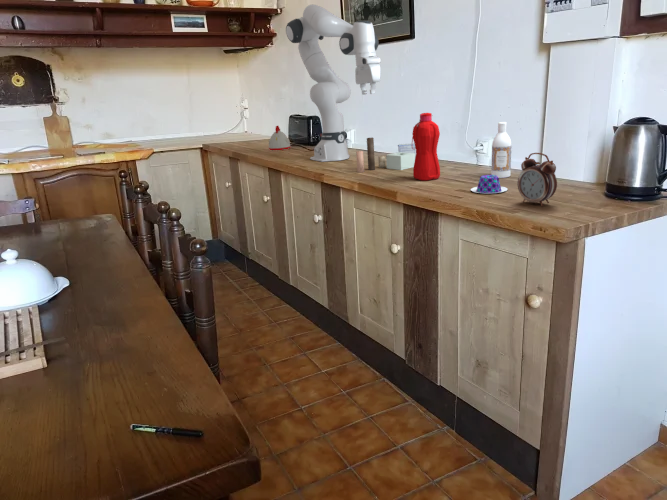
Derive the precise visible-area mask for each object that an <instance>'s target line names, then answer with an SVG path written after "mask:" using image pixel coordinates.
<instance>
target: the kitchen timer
mask: <svg viewBox="0 0 667 500" xmlns="http://www.w3.org/2000/svg"><path fill="white" fill-rule="evenodd" d="M274 129H275V130H274V132H273V134H272V135H271V136H270V139H268V150H269V149H270V150H282V151H284V150H283V149H288V148H292V147H291V143H290V139H289V137H288V136H287V135H286V133H284V132H283V131H281V128H280V126H279V125H276V126H275V128H274ZM288 150H289V149H288Z"/></svg>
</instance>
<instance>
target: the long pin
mask: <svg viewBox="0 0 667 500" xmlns="http://www.w3.org/2000/svg"><path fill="white" fill-rule="evenodd" d="M374 141H375V139H374V137H367V138H366V150H367V153H366V154H367V170H368V171H375V169H376V165H375V144H374V143H375V142H374Z"/></svg>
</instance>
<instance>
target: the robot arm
mask: <svg viewBox="0 0 667 500" xmlns="http://www.w3.org/2000/svg"><path fill="white" fill-rule="evenodd" d="M285 34H286V37H287V39H288V40H289V42H291V43H293V44H298V46H297V49H298V52H299V54H300V58H301V60H302V63H303V64H304V67H305V69H306V71H307V72H308V73H307V74H308V75H309V77H310V78H311V80H313V81H315V82H316V83H315V84H313V85H312V86H311V87H310V90H309V97H310V100H311V102H313V104H314V105H316V107H317V109H318V111H319V113H320V114H319V115H320V118H321V125H322V133H319V134H320V135H319V136H320V141H319V142H318V143H317V144H316V145H315V147H314V150H313V151H314V152H313V153H314V155H313V156H310V158H309V160H313V161H317V162H321V163H322V162H337V161H344V160H348V159H349V158H350V157H351V155H350V154H349V150H348V145H347V141H346V130H345V123H344V122H345V121H344V115H343V114H342V113H341V112H340V110H339V108H338V106H337V104H342V103H343V102H345V101H348V100H349V98H351V97H350V96H351V93H352V92H351V91H352V89H351V86H350V85H349V84H348V83H347V82H345V81H344V80H343V79H342V78H340V76H339V75H337V73H336V72H335V71H334V70H333V69H332V67H331V66H330V64H329V62H328V61H327V58H326V56H325V55H324V53H323V50H322V49H321V47H320V45H319V40H320V41H322V40H323V39H324V37H325V38H339V42H338V43H339V44H338V45H339V49H340V52H341V53H342V54H343V55H345V56H355V66H356V67H355V72H354V73H355V78H354V79H355V83H356V85H359V87H360V90H361V95H365V96H366V95H367V93H368V91H367V89H366V84H369V86H370V89H369V94H370V95H374V94H376V87H377V83H378V82H379V83H380V81H381V65H380V63H381V60H382V59H381V57H379V56H378V55H377V52H376V51H377V50H378V47H379V42H380V41H379V38H378V36H377V34H376V33H375V29H374V25H373V22H371V21H370V20H356V21H355V22H353V23H351V22H348V21H346V20H344V19H342V18H340V17H339V16H337V15H335V14H334V13H332V12H330V11H329V10H328V9H326V8H324V7H322V6H320V5H318V4H309V5H307V6H306V7H305V8H304V10H303V12H302V16H301V17H299V18H295V19H292V20H290V21H289V22H288V23H286V27H285Z"/></svg>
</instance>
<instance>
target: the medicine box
mask: <svg viewBox="0 0 667 500" xmlns="http://www.w3.org/2000/svg"><path fill="white" fill-rule="evenodd" d="M397 147H398V150H397V151H398V153H399V152H405V153H415V157H416V149H415V144H414V143H403V144H402V143H401V144H400V143H399V144H398V145H397ZM412 147H413V149H414V150H413V149H412Z"/></svg>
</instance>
